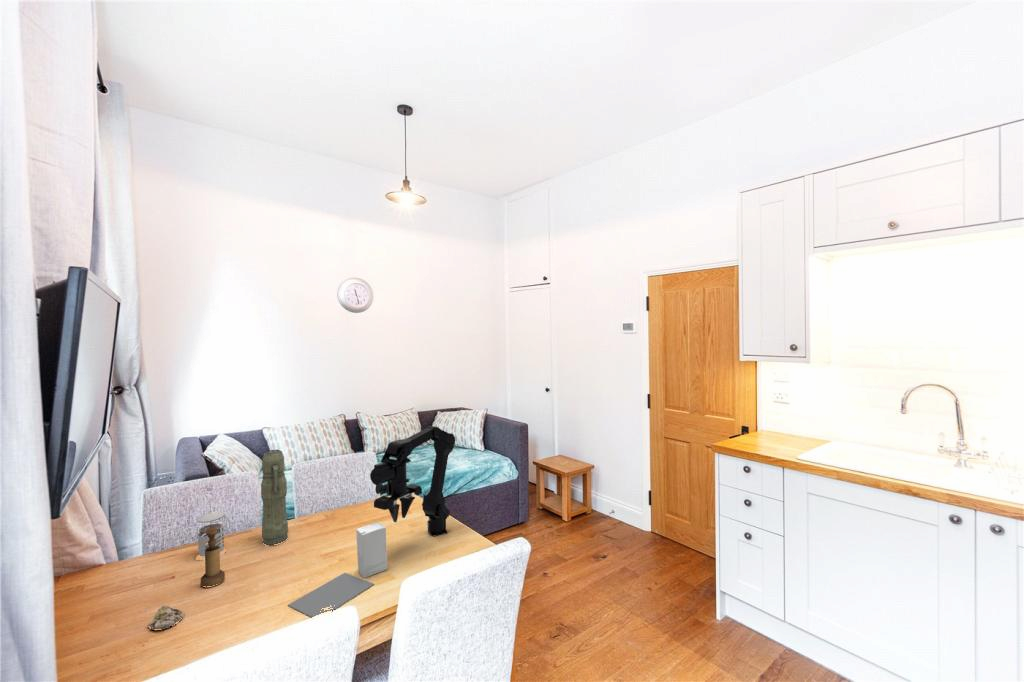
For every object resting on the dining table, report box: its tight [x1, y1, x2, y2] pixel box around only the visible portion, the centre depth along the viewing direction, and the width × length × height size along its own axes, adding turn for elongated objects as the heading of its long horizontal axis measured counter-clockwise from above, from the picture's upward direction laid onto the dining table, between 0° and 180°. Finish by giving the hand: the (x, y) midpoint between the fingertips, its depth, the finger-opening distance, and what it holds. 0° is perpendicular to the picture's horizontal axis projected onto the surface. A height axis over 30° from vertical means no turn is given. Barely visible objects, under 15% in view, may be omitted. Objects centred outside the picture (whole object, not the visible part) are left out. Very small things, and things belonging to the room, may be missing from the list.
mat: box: [287, 572, 375, 618], centre depth 133 cm, size 20×14×1 cm
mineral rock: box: [147, 605, 186, 630], centre depth 123 cm, size 11×4×8 cm
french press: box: [196, 485, 231, 556], centre depth 162 cm, size 10×12×25 cm
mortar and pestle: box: [200, 526, 226, 587], centre depth 141 cm, size 7×6×18 cm
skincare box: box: [355, 521, 388, 579], centre depth 146 cm, size 8×6×15 cm
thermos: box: [260, 449, 289, 546], centre depth 170 cm, size 9×12×35 cm
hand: (399, 519), depth 158 cm, fingers open, 4 cm apart
